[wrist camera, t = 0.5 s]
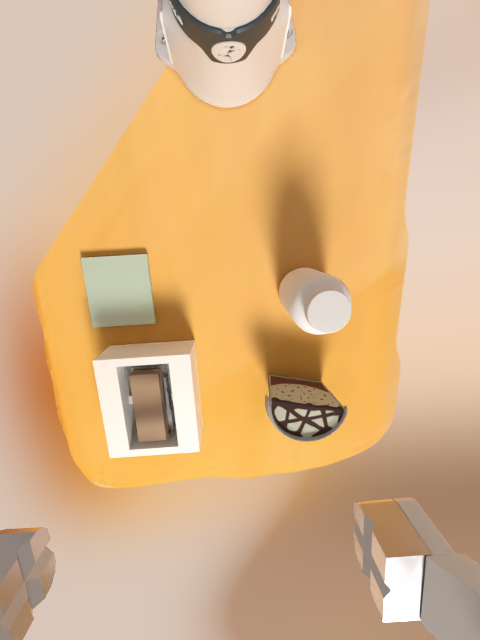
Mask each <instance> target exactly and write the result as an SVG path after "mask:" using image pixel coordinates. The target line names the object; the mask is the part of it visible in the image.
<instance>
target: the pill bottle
mask: <svg viewBox="0 0 480 640" xmlns="http://www.w3.org/2000/svg"><path fill="white" fill-rule="evenodd" d="M279 299H280V302H281V304H282V306H283V308H284V309H285V310H286V312H287V313H288V314H289V315H290V317H291V318H292V319H293V321H294V322H295V323H296V324H297V325H298V326H299V327H300V328H301V329H302V330H304V331H306V332H308V333H311V334H327V333H332V332H336V331H338V330H340V329H341V328H343V327H344V326H345V325H346V324H347V322H348V321H349V319H350V316H351V311H352V310H351V309H352V308H351V296H350V293H349V290H348V288H347V287H346V285H345V284H344V283H343V282H342V281H341V280H339V279H338V278H336V277H334V276H331V275H329V274H326V273H323V272H320V271H318V270H315V269H312V268H298V269H295V270H293V271H291V272H289V273H288V274H287V275H286V276H285V277H284V278H283V280H282V282H281V284H280V287H279Z"/></svg>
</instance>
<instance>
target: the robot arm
mask: <svg viewBox="0 0 480 640" xmlns="http://www.w3.org/2000/svg"><path fill="white" fill-rule="evenodd" d="M287 34H288V35H287ZM164 38H165V42H163V39H164ZM295 46H296V36H295V31H294V25H293V20H292V14H291V5H290V3H289V0H158V12H157V27H156V43H155V49H156V54H157V56H158V58H159V59H160V60H161V61H162V62H163V63H164V64H165V65H167V66H168V67H170V68H171V69H173V70H175V71H176V73H177V74H178V75H179V76H180V78H181V79H182V81H183V82H184V84H185V85H186V86H187V88H188V89H189V90H190V91H191V92H192V93H193V94H194V95H195V96H197V97H198V98H199V99H201V100H202V101H204V102H206V103H208V104H211V105H214V106H217V107H225V108H230V107H237V106H241V105H244V104H246V103H248V102H250V101H252V100H253V99H255V98H256V97H257V96H258V95H260V94H261V93H262V92H263V91H264V89H265V88H266V87H267V85H268V84H269V82H270V81H271V79H272V77H273V75H274V73H275V71H276V70H277V68H278V67H279V65H281V64H282V63H283V62H284V61H285V60H287V59H288V58H289V57H290V56H291V55H292V54H293V52H294V50H295ZM353 515H354V517H355V519H356V522H357V525H356V526H355V527H354V528H353V541H354V546H355V552H356V556H357V559H358V562H359V565H360V567H361V570H362V572H363V573H364V574H365V575H367V576H368V577H369V578H370V592H371V594H372V597H373V599H374V601H375V604H376V606H377V609H378V611H379V613H380V616H381V618H382V620H383V622H394V621H414V620H421V624H422V625H423V626H424V627H425V628H426V629H427V630H428V631H429V632H430V633H431V634H432V635H433V636H434V637H435V638H436V639H437V640H480V564H478V563H476V562H475V561H473V560H472V559H470V558H469V557H467V556H465V555H464V554H462V553H457V554H456V553H455V552H454V551H453V550H452V548H451V547H450V545H449V544H448V543H447V541H446V540H445V539H444V537H443V536H442V535H441V533H440V532H439V531H438V529H437V528H436V527H435V525H434V524H433V523H432V521H431V520H430V519H429V517H428V516H427V515H426V513H425V512H424V511H423V509H422V508H421V507H420V505H419V504H418V503H417V501H416V500H415V499H413V498H412V497H408V498H397V499H392V500H391V499H387V500H376V501H365V502H355V504H354V512H353ZM49 540H50V537H49V533H48V530H47V529H46V528H23V529H5V530H0V640H23V638H24V636H25V635H26V633H27V631H28V629H29V627H30V625H31V623H32V621H33V619H34V618H33V608H35V607H36V606H37V605H38V604H39V603H40V602H41V601H42V600H43V599H44V598H45V597H46V595H47V593H48V591H49V589H50V587H51V584H52V580H53V577H54V573H55V557H54V553H53V552H52V551H51V550H49V549H48V548H47V547H46V545H47V544H48V542H49Z"/></svg>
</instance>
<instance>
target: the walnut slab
mask: <svg viewBox="0 0 480 640" xmlns="http://www.w3.org/2000/svg"><path fill="white" fill-rule="evenodd" d="M129 380H130V387H131V393H132V400H133V407H134V413H135V420H136V426H137V433H138V439H139V442H147V441H161V440H166V439H167V436H168V433H169V430H170V429H169V421H168V413H167V405H166V397H165V389H164V381H163V373H162V368H149V369H134V370H133V371H132V372H131V373H130V375H129Z"/></svg>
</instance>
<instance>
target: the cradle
mask: <svg viewBox="0 0 480 640" xmlns="http://www.w3.org/2000/svg"><path fill="white" fill-rule="evenodd" d="M149 368H162V373H163V381H164V389H165V397H166V405H167V413H168V421H169V429H170V430H169V433H168V436H170V434H171V432H174V424H173V416H172V407H171V394H170V391H169V383H168V374H167V366H166V364H153V365H138V366H130V369H131V372H132V371H133V370H134V369H149Z"/></svg>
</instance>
